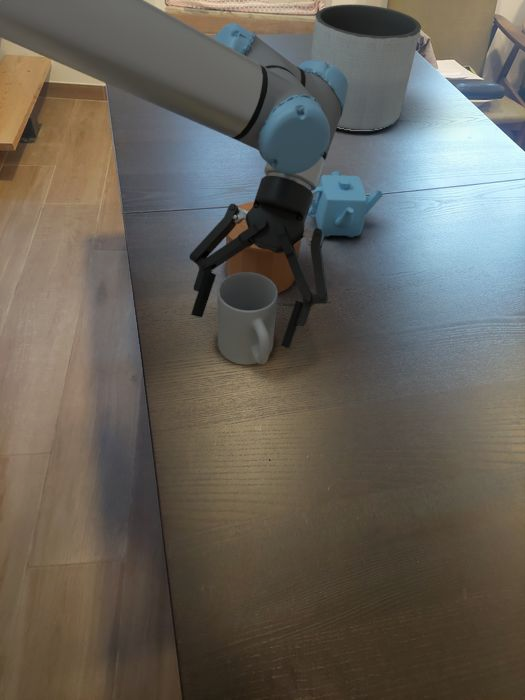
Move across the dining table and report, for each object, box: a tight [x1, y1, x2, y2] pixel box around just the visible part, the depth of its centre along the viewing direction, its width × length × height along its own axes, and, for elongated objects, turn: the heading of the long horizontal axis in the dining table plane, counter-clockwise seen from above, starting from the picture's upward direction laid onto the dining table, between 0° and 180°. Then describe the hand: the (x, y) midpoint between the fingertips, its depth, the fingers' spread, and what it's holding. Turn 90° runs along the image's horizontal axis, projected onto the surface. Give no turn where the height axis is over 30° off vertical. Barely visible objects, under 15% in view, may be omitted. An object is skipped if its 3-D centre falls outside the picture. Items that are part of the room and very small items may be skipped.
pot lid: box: [227, 201, 306, 252], centre depth 82 cm, size 13×13×4 cm
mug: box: [216, 272, 279, 366], centre depth 73 cm, size 12×8×11 cm
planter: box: [309, 4, 422, 133], centre depth 128 cm, size 25×25×22 cm
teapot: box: [307, 170, 384, 238], centre depth 97 cm, size 18×14×10 cm
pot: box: [225, 236, 302, 294], centre depth 87 cm, size 12×12×10 cm
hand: (239, 331), depth 71 cm, fingers open, 13 cm apart
